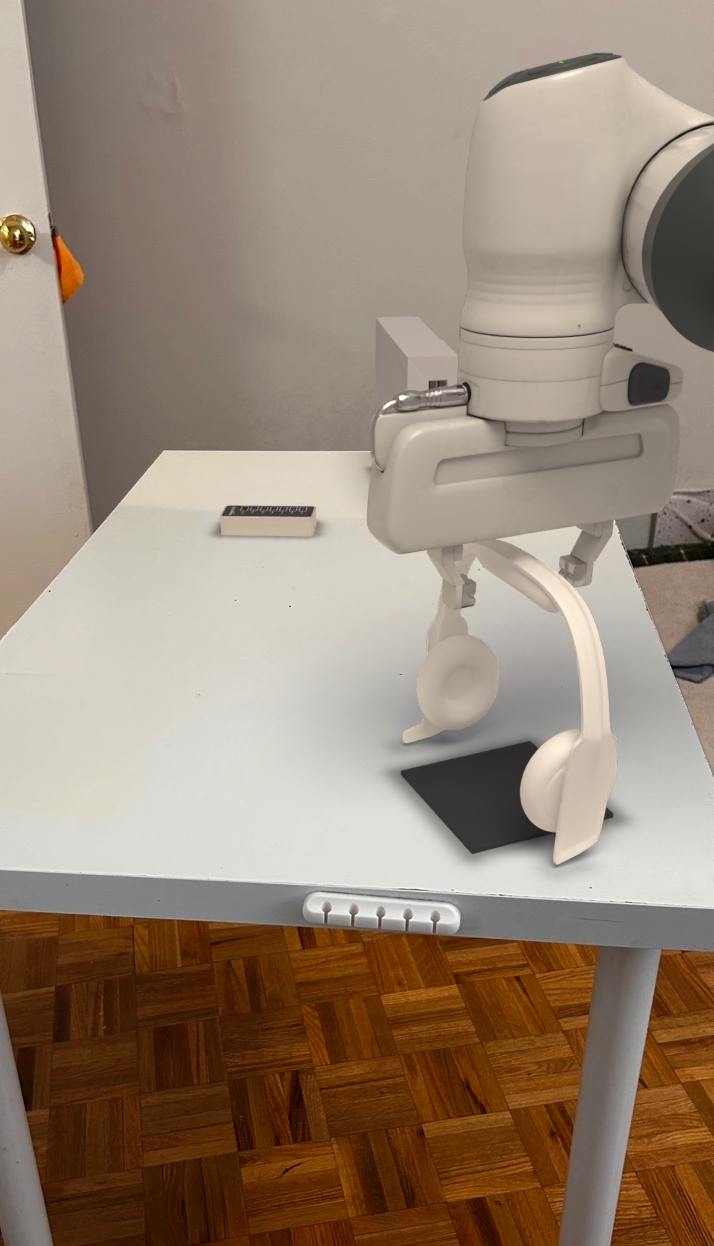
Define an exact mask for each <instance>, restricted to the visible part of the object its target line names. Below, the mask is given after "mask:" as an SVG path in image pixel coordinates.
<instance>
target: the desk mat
mask: <svg viewBox="0 0 714 1246" xmlns="http://www.w3.org/2000/svg"><path fill="white" fill-rule="evenodd" d="M539 748H540V747H538V746H537V745H535V744H534V743H533V742H532V741H531V740H527V741H524V742H519V743H514V744H509V745H506V746H502V747H498V748H497V747H496V748H494V749H489V750H488V749H487V750H485V751H479V752H475V753H472V754H471V753H470V754H467V755H461V756H457V757H453V758H450V759H449V758H448V759H445V760H440V761H437V762H432V763H427V764H423V765H419V766H413V767H410V768H404V769H402V770H400V775H401V777H402V778H403V779H404V780H405V781H406V782H407V783H408V784H409V786H410V787H411V788H412V789H413V790H414V791H415V792H416V793H417V794H418V795H419V797H420V798H421V799H422V800H423V802H425V803H426V805H427V806H428V807H429V809H431V810H432V811H433V812H434V814H435V815H436V816H437V817H438V818H439V819H440V820H441V821H442V822H443V824H444V825H445V826H446V827H447V828H448V829H449V830H450V831H451V833H452V834H453V835H454V836H455V837H456V839H458V841H459V842H460V843H461V844H462V845H463V846H464V847H465V848H466V849H467V850H468V852H469V853H470V854H471V855H475V854H478V853H482V852H486V851H489V850H494V849H498V848H502V847H506V846H509V845H514V844H517V843H521V842H524V841H529V840H533V839H537V838H540V837H544V836H547V835H552V834H556V832H549V831H545V830H543V829H541V828H539V827H537V826H536V825H534V824H533V823H532V822H531V821H530V820H529V818H528V817H527V815H526V814H525V812H524V810H523V807H522V804H521V798H520V785H521V780H522V777H523V773H524V771H525V768H526V766H527V764H528V762H529V761H530V759H531V758H532V756H533V755H534V753H535V752H536V751H537V750H538V749H539ZM612 818H614V812H613V811H611V810H610V808H608V807H607V806H606V810H605V815H604V819H603V821H605V820H609V819H612Z"/></svg>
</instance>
